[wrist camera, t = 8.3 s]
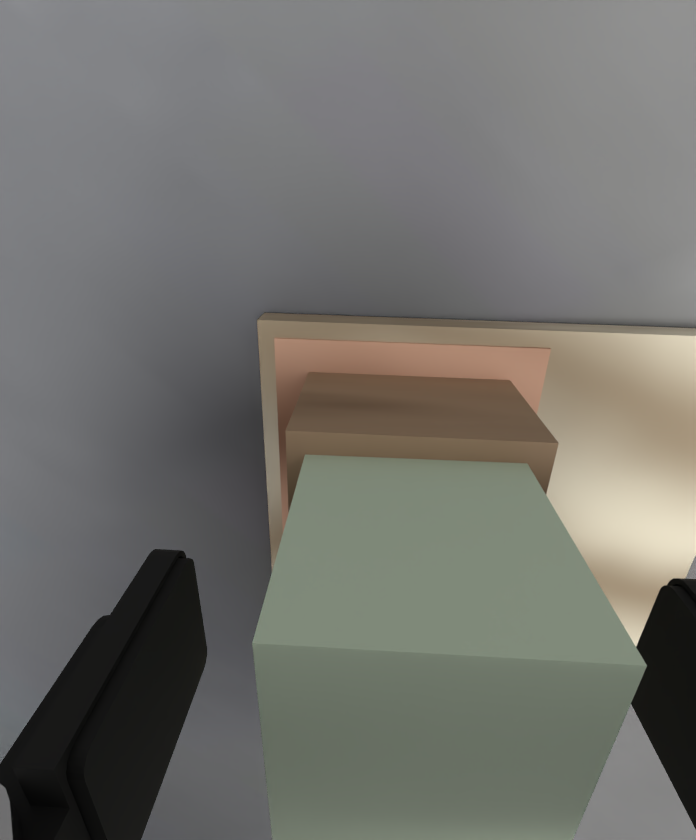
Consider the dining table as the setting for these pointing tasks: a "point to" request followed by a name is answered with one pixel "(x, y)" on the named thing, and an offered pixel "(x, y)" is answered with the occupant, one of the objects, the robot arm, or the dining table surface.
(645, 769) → the dining table surface
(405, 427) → the walnut base block
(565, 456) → the cream wavy board
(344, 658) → the sage block
